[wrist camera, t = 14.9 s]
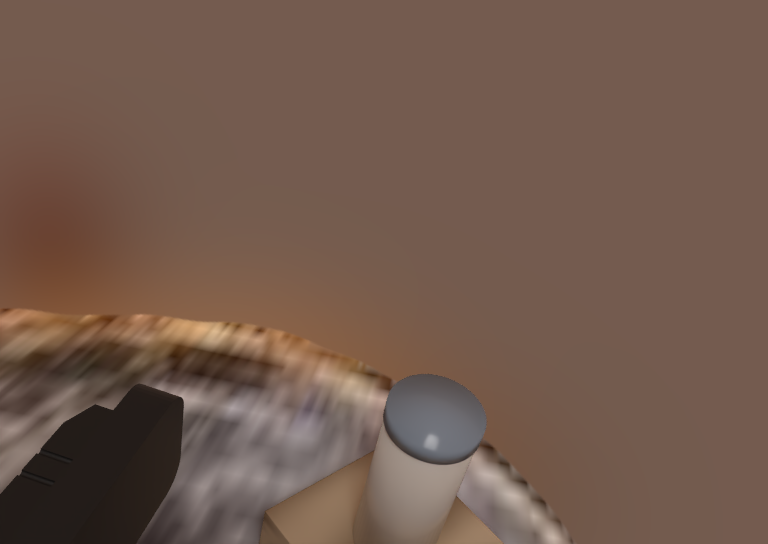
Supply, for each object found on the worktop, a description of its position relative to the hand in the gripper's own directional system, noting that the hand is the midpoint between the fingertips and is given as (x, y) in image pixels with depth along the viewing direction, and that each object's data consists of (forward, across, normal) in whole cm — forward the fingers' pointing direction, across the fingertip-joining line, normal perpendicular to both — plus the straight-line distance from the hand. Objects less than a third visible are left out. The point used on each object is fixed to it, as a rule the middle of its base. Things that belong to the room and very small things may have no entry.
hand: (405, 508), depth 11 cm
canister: (+19, -1, +26) cm, 33 cm away
